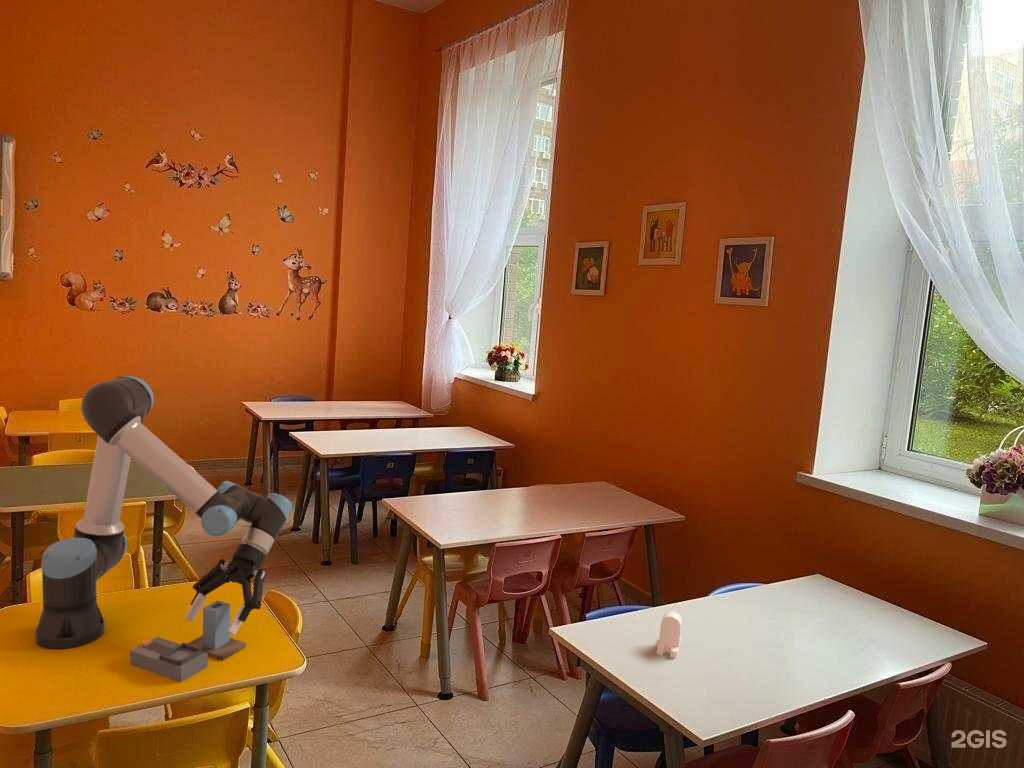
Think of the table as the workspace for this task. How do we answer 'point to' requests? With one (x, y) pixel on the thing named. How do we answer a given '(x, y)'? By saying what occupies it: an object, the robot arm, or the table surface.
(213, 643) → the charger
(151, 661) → the grey rectangular box
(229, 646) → the walnut board
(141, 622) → the table surface
